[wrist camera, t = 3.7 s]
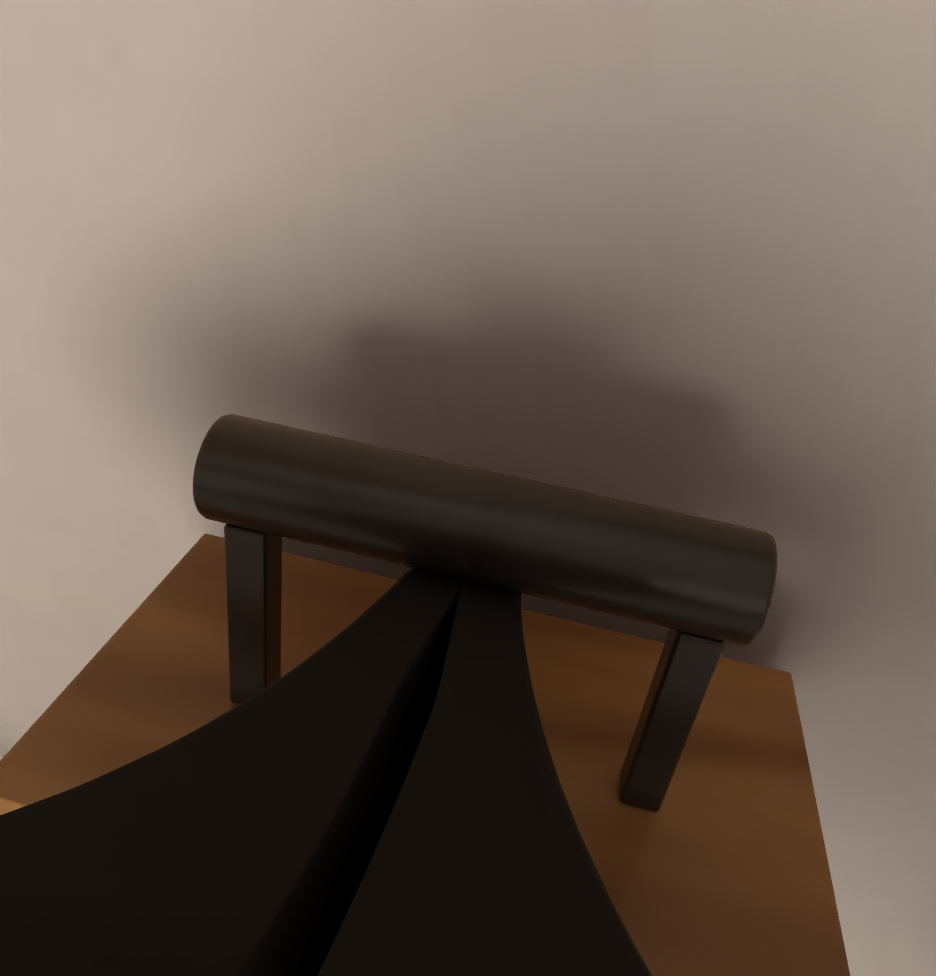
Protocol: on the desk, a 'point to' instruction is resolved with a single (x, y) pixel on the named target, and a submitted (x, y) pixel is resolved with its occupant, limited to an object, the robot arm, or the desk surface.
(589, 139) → the desk surface
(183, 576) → the drawer
